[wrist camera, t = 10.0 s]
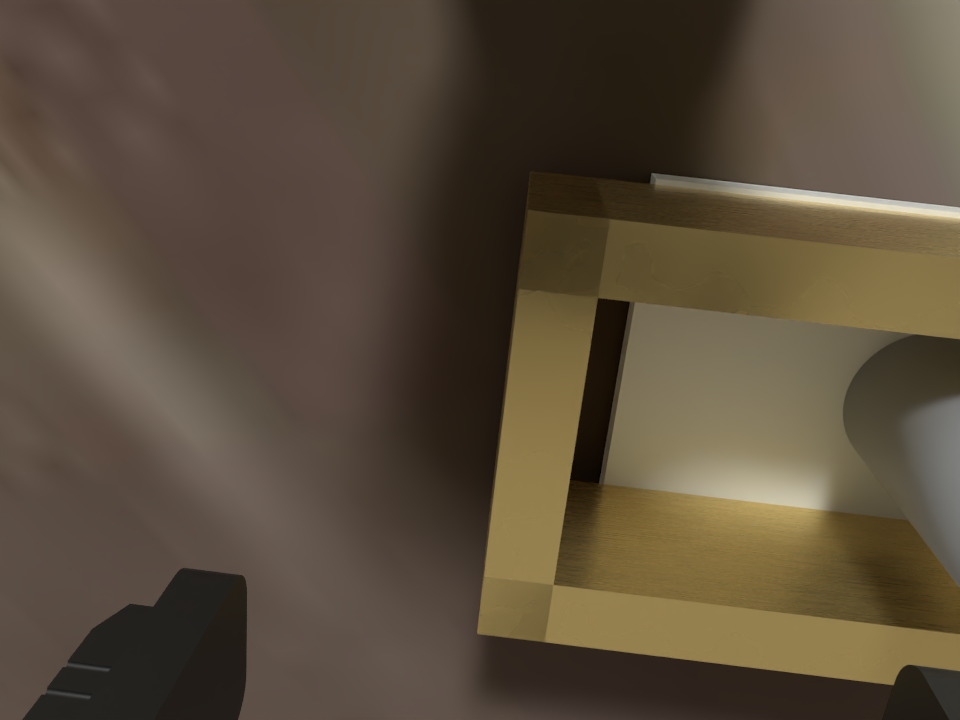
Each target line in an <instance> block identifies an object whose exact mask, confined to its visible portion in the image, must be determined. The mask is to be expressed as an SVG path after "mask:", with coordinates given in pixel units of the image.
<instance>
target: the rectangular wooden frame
mask: <svg viewBox="0 0 960 720" xmlns="http://www.w3.org/2000/svg"><path fill="white" fill-rule="evenodd" d="M598 298H603V299H611V300H620V301H629V302H638V303H646V304H655V305H664V306H673V307H681V308H690V309H699V310H708V311H716V312H725V313H734V314H743V315H751V316H760V317H769V318H778V319H786V320H795V321H804V322H813V323H821V324H830V325H839V326H848V327H856V328H865V329H874V330H883V331H891V332H900V333H909V334H918V335H926V336H935V337H944V338H953V339H960V218H952V217H944V216H935V215H926V214H917V213H908V212H899V211H890V210H881V209H872V208H863V207H854V206H845V205H836V204H827V203H818V202H809V201H800V200H791V199H782V198H773V197H764V196H755V195H746V194H737V193H728V192H719V191H710V190H701V189H692V188H683V187H674V186H665V185H656V184H647V183H638V182H629V181H620V180H611V179H602V178H593V177H584V176H575V175H566V174H557V173H548V172H539V171H530V177H529V185H528V194H527V202H526V210H525V219H524V227H523V236H522V244H521V252H520V261H519V269H518V277H517V286H516V294H515V302H514V311H513V319H512V327H511V336H510V344H509V353H508V361H507V369H506V378H505V386H504V394H503V403H502V411H501V419H500V428H499V436H498V445H497V453H496V461H495V470H494V478H493V486H492V495H491V503H490V511H489V520H488V530H487V539H486V549H485V559H484V569H483V579H482V589H481V599H480V609H479V619H478V629H477V634H482V635H490V636H499V637H507V638H515V639H523V640H531V641H539V642H547V643H555V644H564V645H572V646H580V647H588V648H596V649H604V650H612V651H620V652H629V653H637V654H645V655H653V656H661V657H669V658H677V659H685V660H693V661H702V662H710V663H718V664H726V665H734V666H742V667H750V668H758V669H767V670H775V671H783V672H791V673H799V674H807V675H815V676H823V677H832V678H840V679H848V680H856V681H864V682H872V683H880V684H888V685H894V683H895V680H896V677H897V675H898V673H899V671H900V670H901V669H902V668H903V667H904V666H906V665H917V666H925V667H932V668H940V669H948V670H955V671H960V588H959V586H958V585H957V584H956V583H955V581H954V580H953V579H952V577H951V576H950V575H949V573H948V572H947V571H946V569H945V568H944V567H943V565H942V564H941V563H940V561H939V560H938V559H937V557H936V556H935V555H934V553H933V552H932V551H931V549H930V548H929V547H928V545H927V544H926V543H925V541H924V540H923V539H922V538H921V536H920V535H919V534H918V532H917V531H916V530H915V528H914V527H913V526H912V524H911V523H910V522H909V520H901V519H893V518H885V517H876V516H868V515H859V514H851V513H843V512H834V511H826V510H817V509H809V508H801V507H792V506H784V505H775V504H767V503H759V502H750V501H742V500H733V499H725V498H717V497H708V496H700V495H691V494H683V493H675V492H666V491H658V490H649V489H641V488H632V487H624V486H616V485H607V484H599V483H590V482H582V481H574V480H570V475H571V469H572V463H573V456H574V450H575V443H576V437H577V430H578V424H579V417H580V411H581V404H582V398H583V391H584V385H585V378H586V372H587V366H588V359H589V353H590V346H591V340H592V333H593V327H594V320H595V314H596V307H597V301H598Z"/></svg>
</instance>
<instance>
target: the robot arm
mask: <svg viewBox="0 0 960 720" xmlns="http://www.w3.org/2000/svg"><path fill="white" fill-rule="evenodd" d="M246 641H247V586H246V581H245V578H244V577H243V576H242V575H235V574H227V573H219V572H212V571H204V570H196V569H189V568H183V569H181V570H179V571H178V572H177V574H176V575H175V576H174V578H173V579H172V581H171V582H170V584H169V585H168V586H167V588H166V589H165V591H164V592H163V594H162V595H161V597H160V598H159V599H158V601H157V602H156V604H155V605H154V607H150V606H143V605H135V604H129V605H128V606H126V607H125V608H123V609H122V610H120V611H119V612H117V613H116V614H114V615H113V616H111V617H110V618H108V619H107V620H105V621H104V622H102V623H101V624H99V625H98V626H96V627H94V628H93V629H92V630H91V631H90V633H89V634H88V635H87V637H86V638H85V639H84V640H83V642H82V643H81V644H80V646H79V647H78V648H77V650H76V651H75V652H74V653H73V655H72V656H71V657H70V659H69V660H68V664H67V667H63V668H62V669H61V670H60V672H59V673H58V674H57V675H56V677H55V678H54V679H53V681H52V682H51V683H50V685H49V686H48V687H47V692H46V694H45V695H41V696H40V697H39V699H38V700H37V701H36V703H35V704H34V705H33V707H32V708H31V709H30V710H29V712H28V713H27V714H26V716H25V717H24V718H23V720H238V717H239V714H240V710H241V707H242V702H243V697H244V691H245V684H246ZM882 720H960V671H955V670H948V669H940V668H932V667H925V666H917V665H906V666H904V667H903V668H902V669H901V670H900V671H899V673H898V675H897V677H896V680H895V683H894V686H893V689H892V692H891V695H890V698H889V701H888V704H887V707H886V710H885V713H884V716H883V719H882Z"/></svg>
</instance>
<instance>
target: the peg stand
mask: <svg viewBox="0 0 960 720" xmlns="http://www.w3.org/2000/svg"><path fill="white" fill-rule="evenodd" d="M650 184H656V185H665V186H674V187H683V188H692V189H701V190H710V191H719V192H728V193H737V194H746V195H755V196H764V197H773V198H782V199H791V200H800V201H809V202H818V203H827V204H836V205H845V206H854V207H863V208H872V209H881V210H890V211H899V212H908V213H917V214H926V215H935V216H944V217H952V218H960V208H959V207H950V206H942V205H933V204H924V203H915V202H906V201H897V200H888V199H879V198H870V197H861V196H852V195H843V194H834V193H825V192H816V191H808V190H799V189H790V188H781V187H772V186H763V185H754V184H745V183H736V182H727V181H718V180H709V179H700V178H691V177H683V176H674V175H665V174H656V173H652V174H651V180H650ZM599 484H607V485H616V486H624V487H632V488H641V489H649V490H658V491H666V492H675V493H683V494H691V495H700V496H708V497H717V498H725V499H733V500H742V501H750V502H759V503H767V504H775V505H784V506H792V507H801V508H809V509H817V510H826V511H834V512H843V513H851V514H859V515H868V516H876V517H885V518H893V519H901V520H909V522H910V523H911V524H912V526H913V527H914V528H915V530H916V531H917V532H918V534H919V535H920V536H921V538H922V539H923V540H924V541H925V543H926V544H927V545H928V547H929V548H930V549H931V551H932V552H933V553H934V555H935V556H936V557H937V559H938V560H939V561H940V563H941V564H942V565H943V567H944V568H945V569H946V571H947V572H948V573H949V575H950V576H951V577H952V579H953V580H954V581H955V583H956V584H957V585H958V586H959V588H960V339H953V338H944V337H935V336H926V335H918V334H909V333H900V332H891V331H883V330H874V329H865V328H856V327H848V326H839V325H830V324H821V323H813V322H804V321H795V320H786V319H778V318H769V317H760V316H751V315H743V314H734V313H725V312H716V311H708V310H699V309H690V308H681V307H673V306H664V305H655V304H646V303H638V302H630V304H629V310H628V316H627V322H626V328H625V333H624V339H623V345H622V351H621V357H620V363H619V369H618V375H617V381H616V387H615V392H614V398H613V404H612V410H611V416H610V422H609V428H608V434H607V440H606V446H605V451H604V457H603V463H602V469H601V475H600V481H599Z"/></svg>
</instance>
